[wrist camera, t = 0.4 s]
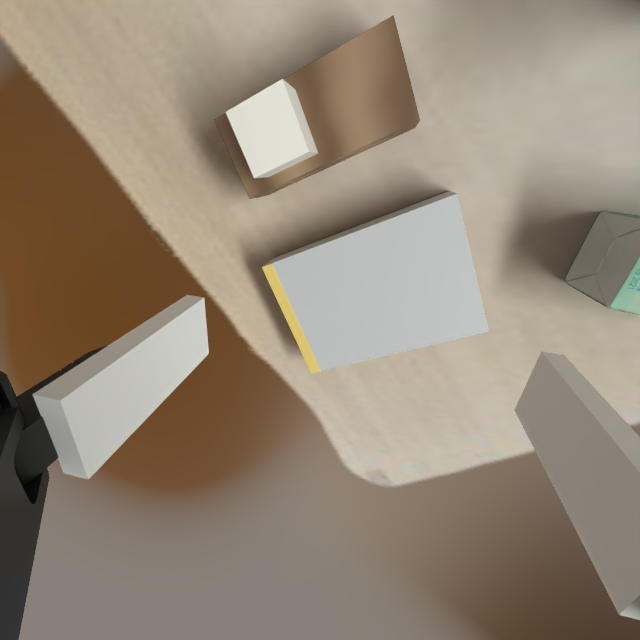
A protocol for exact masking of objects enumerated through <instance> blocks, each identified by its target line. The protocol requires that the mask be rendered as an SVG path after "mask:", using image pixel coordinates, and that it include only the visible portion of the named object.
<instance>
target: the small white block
mask: <svg viewBox="0 0 640 640" xmlns="http://www.w3.org/2000/svg"><path fill="white" fill-rule="evenodd" d="M226 115H227V117H228V119H229V122H230V124H231V126H232V128H233V131H234V133H235V135H236V138H237V140H238V142H239V145H240V147H241V149H242V152H243V154H244V156H245V159H246V161H247V163H248V165H249V168H250V170H251V172H252V175H253V177H254V178H265V177H270V176H272V175H274V174H276V173H278V172H280V171H283V170H285V169H287V168H289V167H291V166H293V165H295V164H297V163H299V162H301V161H303V160H306V159H308V158H310V157H312V156H314V155H316V154H318V151H317V149H316V146H315V143H314V140H313V137H312V135H311V132H310V129H309V126H308V124H307V121H306V118H305V115H304V112H303V110H302V107H301V104H300V101H299V98H298V96H297V93H296V90H295V89H294V88H293V87H292V86H291V85H289V84H288V83H287V82H286V81H284V80H283V79H281V80H279V81H278V82H276V83H274V84H273V85H271V86H269V87H267V88H266V89H264V90H262V91H261V92H259V93H257V94H255V95H254V96H252V97H250V98H249V99H247V100H245V101H243V102H242V103H240V104H238V105H237V106H235V107H233V108H231V109H230V110H228V111H226Z"/></svg>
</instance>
